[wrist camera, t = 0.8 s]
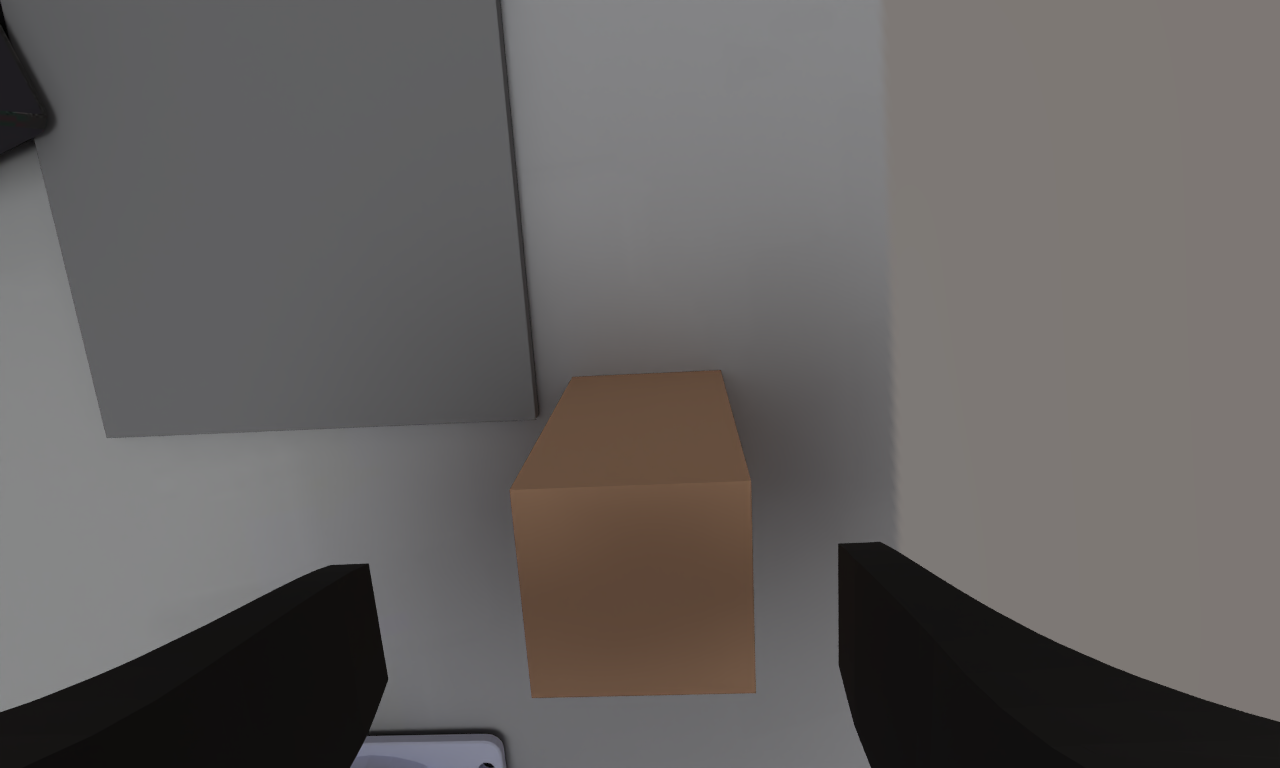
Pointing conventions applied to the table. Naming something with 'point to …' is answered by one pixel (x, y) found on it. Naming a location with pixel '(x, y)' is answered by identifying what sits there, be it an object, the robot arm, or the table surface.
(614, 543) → the block
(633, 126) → the table surface
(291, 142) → the mat
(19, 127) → the calculator
